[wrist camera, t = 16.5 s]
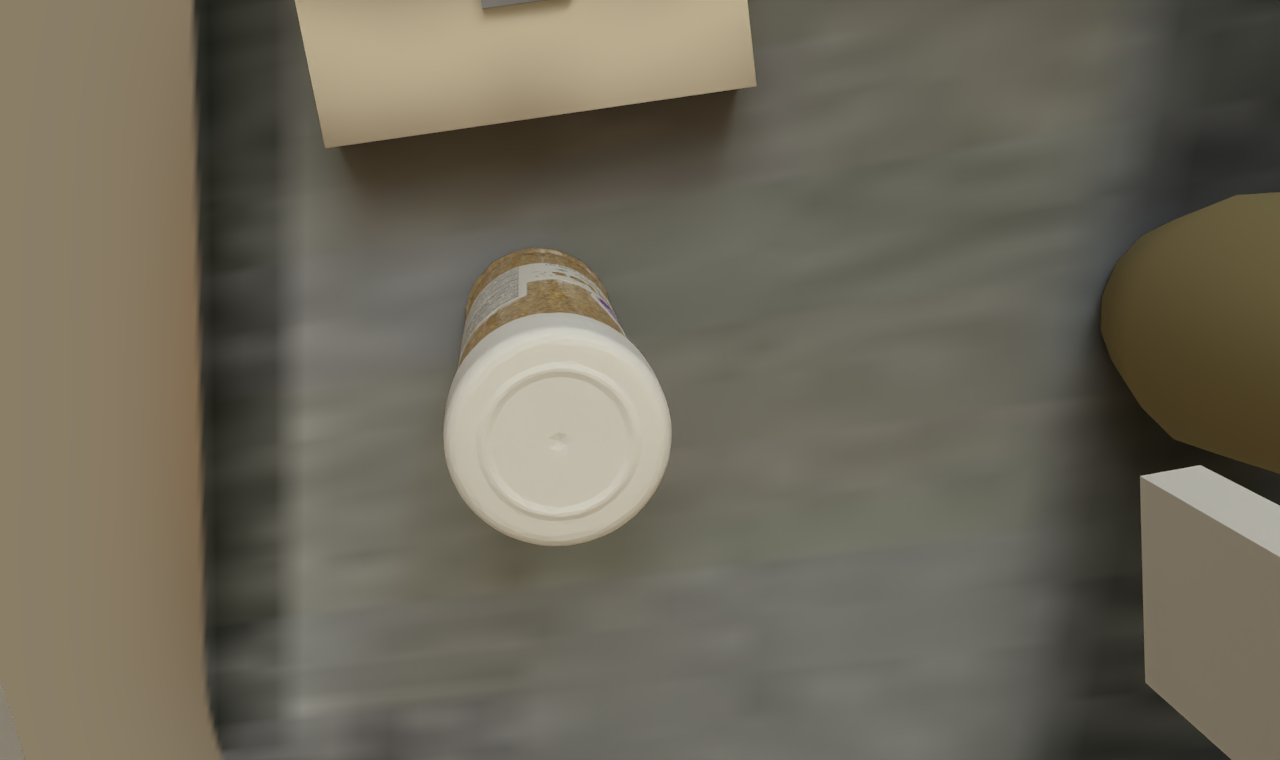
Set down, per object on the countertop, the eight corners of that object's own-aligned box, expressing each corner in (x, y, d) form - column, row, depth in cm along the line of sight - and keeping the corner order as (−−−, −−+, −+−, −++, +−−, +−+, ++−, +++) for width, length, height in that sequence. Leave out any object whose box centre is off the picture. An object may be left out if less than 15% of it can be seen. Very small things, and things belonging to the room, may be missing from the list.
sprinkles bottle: (640, 317, 35) (723, 441, 22) (537, 418, 36) (560, 598, 23) (535, 212, 34) (559, 279, 21) (430, 318, 34) (390, 447, 21)
